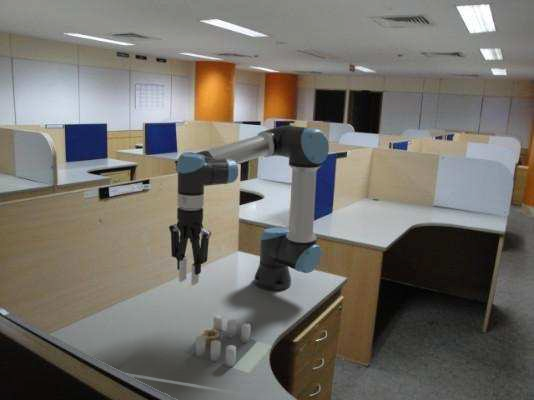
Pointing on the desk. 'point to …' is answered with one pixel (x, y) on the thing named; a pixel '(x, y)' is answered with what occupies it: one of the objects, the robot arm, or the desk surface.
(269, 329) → the desk surface
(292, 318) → the desk surface
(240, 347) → the spacer field
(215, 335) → the nut
